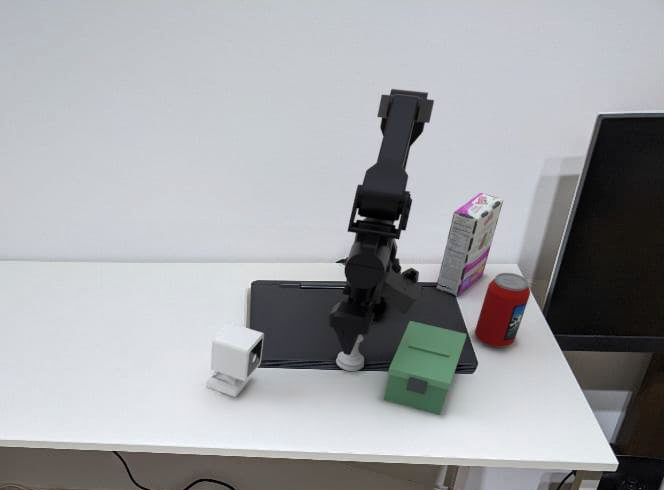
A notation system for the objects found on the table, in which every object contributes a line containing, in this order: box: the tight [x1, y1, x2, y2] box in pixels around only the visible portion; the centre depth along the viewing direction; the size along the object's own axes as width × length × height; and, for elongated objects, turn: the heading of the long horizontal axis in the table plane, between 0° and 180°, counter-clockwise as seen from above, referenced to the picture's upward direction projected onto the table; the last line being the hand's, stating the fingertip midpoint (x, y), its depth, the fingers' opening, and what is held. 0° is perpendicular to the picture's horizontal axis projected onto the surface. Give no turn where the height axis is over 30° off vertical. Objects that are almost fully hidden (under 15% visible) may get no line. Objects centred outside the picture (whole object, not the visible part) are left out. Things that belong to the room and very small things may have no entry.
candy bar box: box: [435, 192, 504, 297], centre depth 162 cm, size 11×5×16 cm, turn 137°
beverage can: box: [474, 272, 531, 348], centre depth 148 cm, size 7×7×12 cm
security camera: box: [205, 322, 265, 397], centre depth 138 cm, size 6×7×10 cm
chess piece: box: [335, 335, 365, 372], centre depth 143 cm, size 5×5×8 cm
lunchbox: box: [383, 320, 468, 416], centre depth 140 cm, size 9×16×7 cm, turn 153°
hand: (354, 340), depth 143 cm, fingers open, 9 cm apart
